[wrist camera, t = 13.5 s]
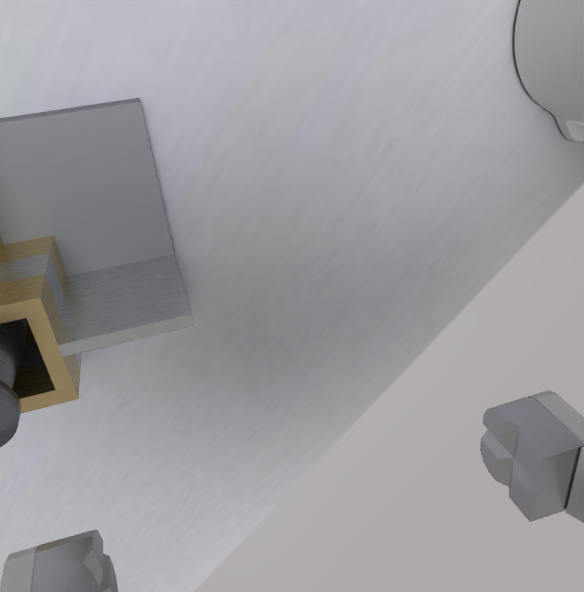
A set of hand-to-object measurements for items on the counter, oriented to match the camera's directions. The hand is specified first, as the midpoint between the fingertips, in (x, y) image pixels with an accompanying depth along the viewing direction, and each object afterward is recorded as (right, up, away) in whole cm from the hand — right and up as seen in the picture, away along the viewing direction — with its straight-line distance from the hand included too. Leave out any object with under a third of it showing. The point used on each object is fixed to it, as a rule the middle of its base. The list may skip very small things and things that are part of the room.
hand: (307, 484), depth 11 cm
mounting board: (-17, +8, +27) cm, 33 cm away
